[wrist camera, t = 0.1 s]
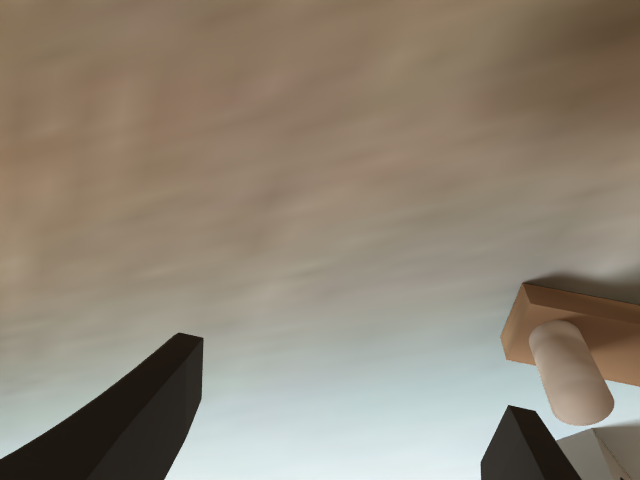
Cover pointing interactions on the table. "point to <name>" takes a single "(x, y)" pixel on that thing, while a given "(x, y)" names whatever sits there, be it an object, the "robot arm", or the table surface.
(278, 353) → the table surface
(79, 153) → the table surface
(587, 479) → the dice cube
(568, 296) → the peg rack
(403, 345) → the table surface
